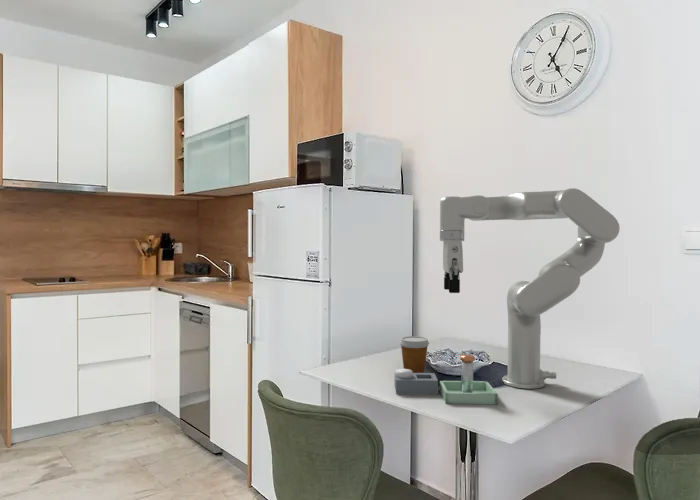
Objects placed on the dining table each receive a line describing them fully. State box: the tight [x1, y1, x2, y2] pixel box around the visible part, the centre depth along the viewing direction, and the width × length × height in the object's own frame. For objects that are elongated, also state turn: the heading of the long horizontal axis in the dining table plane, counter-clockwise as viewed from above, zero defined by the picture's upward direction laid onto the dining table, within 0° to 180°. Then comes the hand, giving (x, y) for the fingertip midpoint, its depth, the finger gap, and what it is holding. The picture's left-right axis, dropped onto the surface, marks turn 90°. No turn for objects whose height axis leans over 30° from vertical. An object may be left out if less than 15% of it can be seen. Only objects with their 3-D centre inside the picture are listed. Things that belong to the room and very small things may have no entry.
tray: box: [438, 380, 499, 405], centre depth 145 cm, size 14×12×3 cm
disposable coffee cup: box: [399, 335, 430, 373], centre depth 167 cm, size 10×10×12 cm
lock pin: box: [459, 354, 476, 393], centre depth 145 cm, size 4×4×11 cm
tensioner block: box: [394, 368, 439, 395], centre depth 152 cm, size 12×8×6 cm, turn 88°
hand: (451, 291), depth 160 cm, fingers open, 9 cm apart
